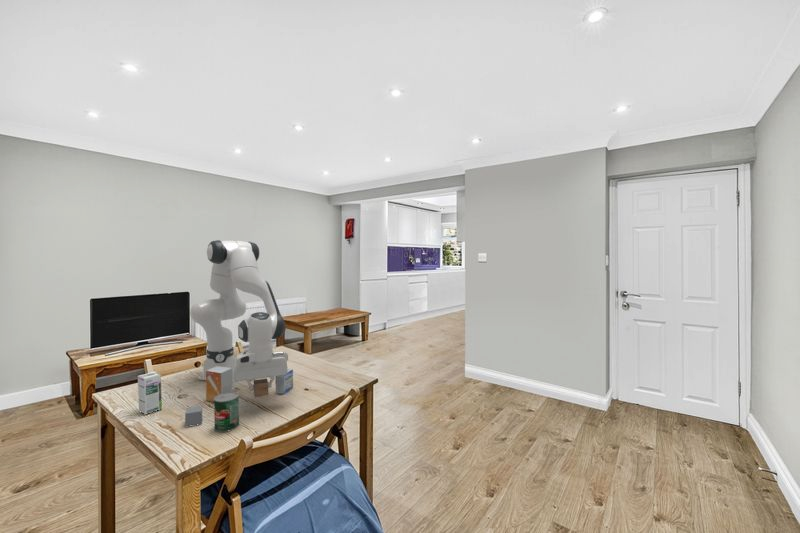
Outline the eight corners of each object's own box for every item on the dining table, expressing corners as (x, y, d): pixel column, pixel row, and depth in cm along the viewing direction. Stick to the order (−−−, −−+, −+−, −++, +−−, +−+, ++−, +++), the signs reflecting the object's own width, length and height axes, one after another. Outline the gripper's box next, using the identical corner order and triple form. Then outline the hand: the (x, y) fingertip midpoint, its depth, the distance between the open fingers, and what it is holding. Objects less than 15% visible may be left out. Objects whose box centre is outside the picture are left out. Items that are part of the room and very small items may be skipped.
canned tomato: (242, 420, 128) (241, 391, 127) (234, 431, 120) (234, 400, 120) (219, 421, 127) (219, 392, 126) (210, 432, 119) (210, 401, 119)
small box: (205, 401, 144) (205, 370, 143) (218, 395, 150) (217, 365, 149) (221, 404, 141) (220, 372, 141) (233, 397, 147) (232, 367, 147)
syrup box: (145, 415, 131) (144, 378, 130) (138, 411, 134) (137, 375, 133) (162, 409, 136) (161, 373, 135) (155, 406, 139) (154, 370, 138)
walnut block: (253, 392, 138) (253, 380, 138) (267, 390, 140) (266, 378, 140) (254, 397, 134) (254, 384, 133) (268, 395, 136) (268, 382, 136)
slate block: (186, 421, 127) (186, 408, 127) (202, 418, 129) (202, 405, 129) (185, 427, 122) (185, 413, 122) (201, 424, 125) (201, 411, 125)
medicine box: (284, 394, 151) (284, 375, 151) (275, 393, 152) (275, 374, 152) (293, 387, 159) (293, 369, 158) (284, 386, 160) (284, 368, 159)
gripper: (286, 349, 144) (286, 381, 144) (232, 355, 134) (232, 389, 135) (289, 353, 138) (289, 387, 139) (232, 359, 129) (232, 396, 129)
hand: (260, 388), depth 137 cm, fingers closed on walnut block, 5 cm apart
